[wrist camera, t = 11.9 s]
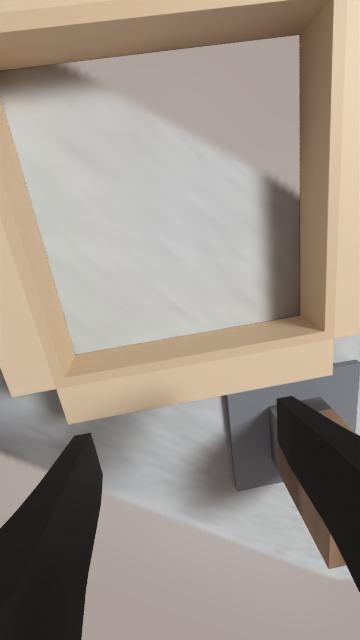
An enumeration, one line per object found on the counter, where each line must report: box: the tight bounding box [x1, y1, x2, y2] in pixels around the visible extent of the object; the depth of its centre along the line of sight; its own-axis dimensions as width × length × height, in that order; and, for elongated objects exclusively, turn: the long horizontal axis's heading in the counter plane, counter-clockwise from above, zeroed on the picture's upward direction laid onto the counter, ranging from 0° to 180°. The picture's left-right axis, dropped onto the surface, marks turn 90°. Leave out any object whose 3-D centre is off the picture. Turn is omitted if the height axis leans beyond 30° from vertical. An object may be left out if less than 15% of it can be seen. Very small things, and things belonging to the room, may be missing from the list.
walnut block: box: [269, 397, 356, 569], centre depth 20 cm, size 4×5×8 cm
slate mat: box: [226, 360, 360, 491], centre depth 24 cm, size 10×10×1 cm
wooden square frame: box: [0, 0, 360, 425], centre depth 16 cm, size 22×22×3 cm
